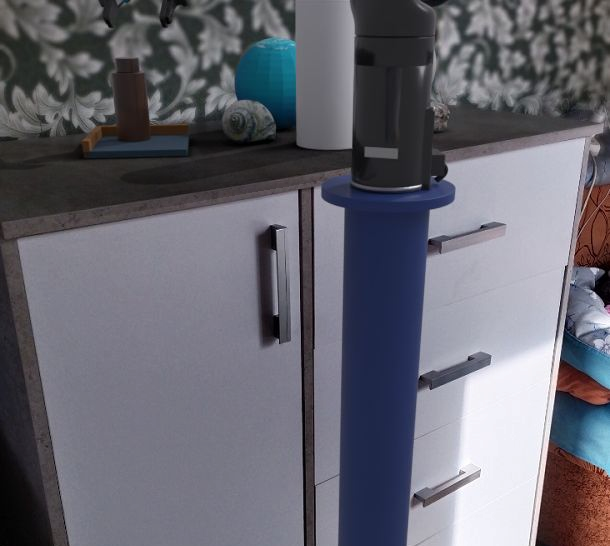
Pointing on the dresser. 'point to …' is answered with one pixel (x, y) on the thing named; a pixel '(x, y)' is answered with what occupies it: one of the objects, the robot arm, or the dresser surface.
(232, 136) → the seashell
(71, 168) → the dresser surface
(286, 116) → the decorative orb
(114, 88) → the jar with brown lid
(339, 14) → the tall pillar cylinder
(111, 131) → the corner mat
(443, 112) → the stone
